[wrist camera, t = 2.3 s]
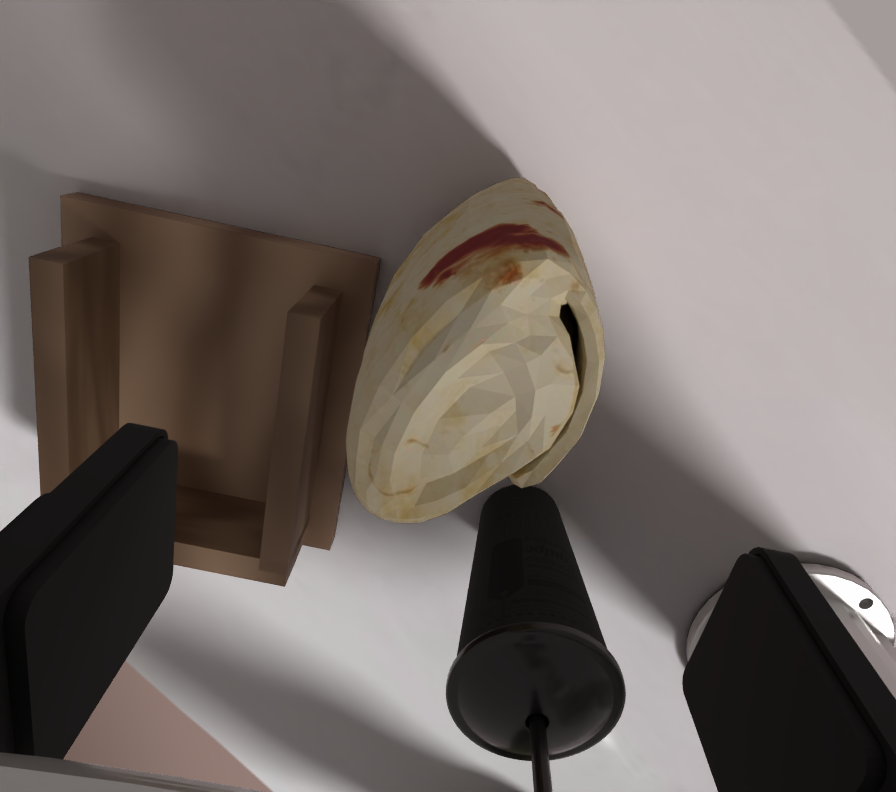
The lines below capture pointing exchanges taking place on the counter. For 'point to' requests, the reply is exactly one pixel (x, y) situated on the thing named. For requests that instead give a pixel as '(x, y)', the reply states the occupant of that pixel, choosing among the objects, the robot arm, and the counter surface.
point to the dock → (205, 370)
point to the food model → (476, 359)
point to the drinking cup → (531, 642)
